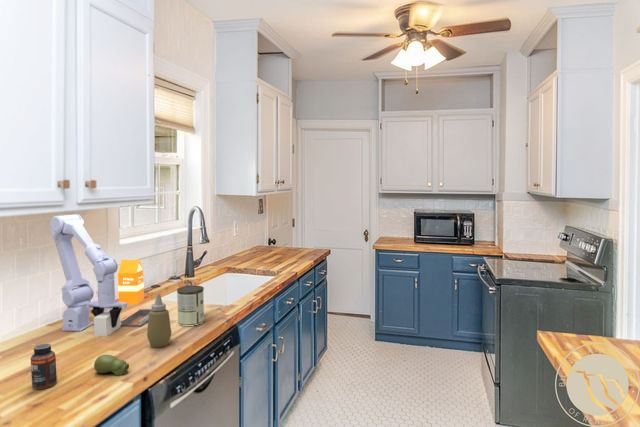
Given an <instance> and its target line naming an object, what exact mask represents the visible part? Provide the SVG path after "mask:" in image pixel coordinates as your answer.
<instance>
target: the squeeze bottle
mask: <svg viewBox="0 0 640 427" xmlns="http://www.w3.org/2000/svg"><path fill="white" fill-rule="evenodd" d="M166 305H167V304H166V303H164V302H163V300H162V296H161V294H160V293H158V294H156V295H155V300H154V303H153V304H151V306H150V307H151V309H152V311H150V312H149V317H148V322H147V331H146V337H147V339H148V342H149V345H150V347H152V348H155V347H157V348H162V347H163V346H164V347H166V346H168V345H169V343H170V339H171V336H172V328H171V321H170V312H169V310H168V309H167V307H166Z"/></svg>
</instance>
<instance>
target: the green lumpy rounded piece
mask: <svg viewBox="0 0 640 427" xmlns="http://www.w3.org/2000/svg"><path fill="white" fill-rule="evenodd" d="M93 367H94V370H95V371H96V373H98V374H107V373H113V374H114V375H115V376H119V375H121V374H123V375H124V374H126V373H127V372H128V371H127V370H129V367H130V364H129V363H127V361H125V360H124V359H119V358H118V357H116V356H114V355H111V354H101V355H99V356H98V357H97V358H96V359H95V361H94V363H93ZM126 371H127V372H126ZM125 372H126V373H125ZM121 376H122V375H121Z"/></svg>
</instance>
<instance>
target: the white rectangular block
mask: <svg viewBox="0 0 640 427" xmlns="http://www.w3.org/2000/svg"><path fill="white" fill-rule="evenodd" d="M120 314H121V313H120ZM120 314H119V317H118V320H117V325H116V326H115V327H114V328H112V325H111V315H110V312H109V310H107V311H105V312H103V313H101V314H100V315H98V316H96V317H94V316H93V322H94V324H93V328H94V330H93V331H94V337H108V336H109V335H111V334H112V333H114V332H115V331H117V330H118V329H120V328H121V324H120V321H121V316H120Z"/></svg>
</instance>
